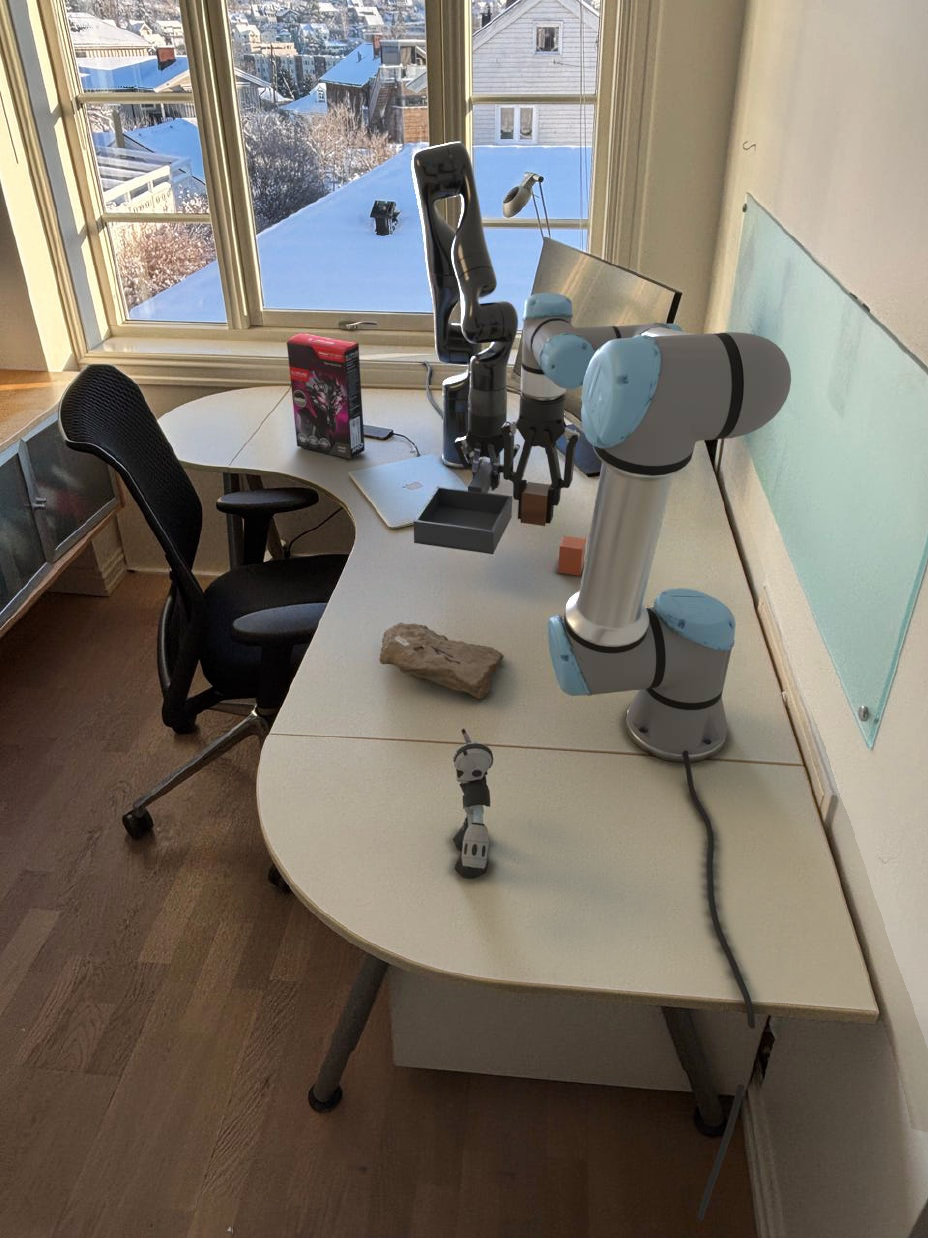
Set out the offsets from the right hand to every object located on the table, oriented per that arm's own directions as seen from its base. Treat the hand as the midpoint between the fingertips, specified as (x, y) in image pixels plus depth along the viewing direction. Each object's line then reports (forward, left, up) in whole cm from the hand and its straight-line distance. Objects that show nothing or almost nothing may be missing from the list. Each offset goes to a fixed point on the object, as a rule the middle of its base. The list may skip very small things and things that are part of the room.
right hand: (535, 517), depth 165 cm
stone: (-27, +11, -17) cm, 34 cm away
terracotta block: (+13, -5, -17) cm, 22 cm away
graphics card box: (+54, +63, -17) cm, 84 cm away
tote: (+11, +15, -7) cm, 20 cm away
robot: (-64, -5, -17) cm, 67 cm away
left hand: (+22, +15, -6) cm, 27 cm away
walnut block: (0, 0, 0) cm, 0 cm away
